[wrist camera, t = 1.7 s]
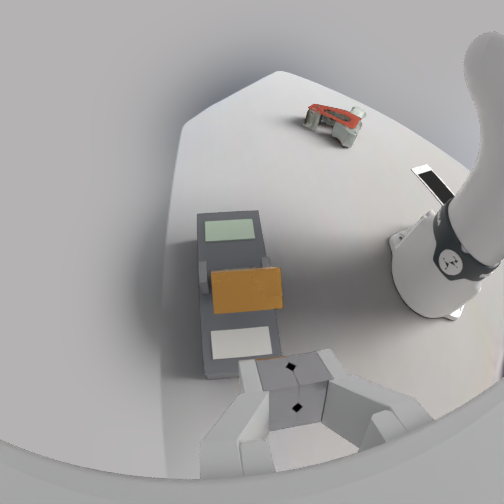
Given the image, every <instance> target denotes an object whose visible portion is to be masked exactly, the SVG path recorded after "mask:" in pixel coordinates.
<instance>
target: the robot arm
mask: <svg viewBox="0 0 504 504" xmlns="http://www.w3.org/2000/svg"><path fill="white" fill-rule="evenodd" d="M464 75H465V81H466V85H467V88H468V91H469V93H470V95H471V97H472V100H473V102H474V105H475V107H476V110H477V114H478V118H479V125H480V148H479V152H478V157H477V160H476V162H475V165H474V167H473V169H472V171H471V172H470V174H469V176H468V178H467V179H466V181H465V182H464V184H463V185H462V187H461V188H460V190H459V191H458V193H457V194H456V195H455V197H454V198H451V199H449V200H448V201H447V202H446V203H445V204H444V205H443V206H442V207H441V208H440V210H439V212H438V213H437V214H436V213H435V212H434V211H433V210H430V211H429V212H428V213H427V214H426V215H424V216H422V217H421V218H420V220H419V221H418V222H417V223H416V225H414V226H412V227H410V228H407V229H405V230H403V231H401V232H398V233H396V234H394V235H393V236H392V237H390V239H389V243H390V247H391V250H392V255H393V257H392V275H393V279H394V282H395V285H396V288H397V290H398V292H399V294H400V295H401V297H402V298H403V300H404V301H405V302H406V303H407V305H408V306H409V307H410V308H411V309H413V310H414V311H415V312H417V313H418V314H420V315H422V316H425V317H428V318H439V317H445V318H448V319H450V320H456V319H458V318H459V317H460V315H461V313H462V310H463V307H464V304H466V303H467V302H468V301H470V300H471V299H472V298H473V297H475V296H476V295H477V294H478V293H479V292H480V291H481V286H482V280H483V279H484V278H485V277H487V276H489V275H490V274H491V273H493V272H494V270H495V269H496V268H497V267H498V266H499V264H500V262H501V260H502V259H503V258H504V35H502V34H499V33H498V32H488V33H484V34H482V35H480V36H478V37H477V38H476V39H475V40H473V42H472V43H471V44H470V46H469V47H468V50H467V52H466V55H465V60H464ZM400 239H401V240H400ZM238 368H239V382H240V394H239V395H238V396H237V397H236V399H235V400H234V401H233V403H232V404H231V405H230V406H229V408H228V409H227V410H226V411H225V413H224V414H223V415H222V417H221V418H220V419H219V420H218V422H217V423H216V424H215V425H214V427H213V428H212V429H211V430H210V431H209V433H208V434H207V435H206V436H205V437H204V439H203V440H202V441H201V442H200V479H168V478H152V477H141V476H132V475H124V474H117V473H111V472H105V471H99V470H94V469H89V468H85V467H80V466H77V465H72V464H69V463H65V462H61V461H58V460H54V459H51V458H48V457H44V456H41V455H38V454H35V453H33V452H30V451H27V450H25V449H22V448H19V447H17V446H14V445H12V444H9V443H7V442H5V441H2V440H0V504H504V377H503V378H502V379H501V380H499V381H498V382H496V383H495V384H494V385H492V386H491V387H489V388H488V389H487V390H485V391H484V392H482V393H481V394H479V395H478V396H476V397H474V398H473V399H471V400H470V401H468V402H467V403H465V404H463V405H462V406H460V407H458V408H457V409H455V410H453V411H451V412H450V413H448V414H446V415H444V416H442V417H440V418H439V419H437V420H434V419H433V418H432V417H431V416H430V415H429V413H428V412H427V411H426V410H425V409H424V408H423V407H422V405H421V404H420V403H419V402H418V401H417V400H416V399H415V398H414V397H411V396H408V395H405V394H402V393H400V392H397V391H394V390H391V389H389V388H386V387H383V386H381V385H378V384H376V383H373V382H370V381H368V380H365V379H363V378H360V377H358V376H355V375H351V376H349V374H348V373H347V371H346V370H345V369H344V367H343V366H342V364H341V363H340V361H339V360H338V359H337V357H336V356H335V355H334V353H333V352H332V350H331V349H329V348H328V349H323V350H318V351H314V352H310V353H304V354H297V355H291V356H281V357H271V358H261V359H255V360H254V359H250V360H239V361H238ZM317 422H321V423H322V424H324V425H325V426H327V427H328V428H330V429H331V430H333V431H334V432H336V433H337V434H339V435H340V436H342V437H343V438H345V439H346V440H348V441H349V442H351V443H352V444H354V445H355V446H357V447H359V451H358V453H355V454H352V455H349V456H346V457H342V458H339V459H335V460H332V461H328V462H324V463H320V464H316V465H312V466H307V467H303V468H298V469H293V470H287V471H282V472H276V471H275V467H274V464H273V460H272V456H271V453H270V449H269V445H268V442H266V441H265V440H266V438H267V435H268V433H269V431H273V430H279V429H284V428H290V427H295V426H301V425H306V424H312V423H317Z"/></svg>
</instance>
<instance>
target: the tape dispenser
mask: <svg viewBox="0 0 504 504" xmlns="http://www.w3.org/2000/svg"><path fill="white" fill-rule="evenodd" d="M308 108H309V110H308V112H307V115H306V119H305V122H304V124H303V126H304V127H306V128H308V129H310V130H312V131H316V130H317V127H318V126H319V124H320V122H321V120H323V121H325V123H326V124H327V125H330V126H334V127H333V130H332V136H333V137H336V138H338V139H339V140H338V141H339V142H340V143H341V144H342V145H343V146H345V147H351V146H352V145H353V143H354V141H355V138H356V136H357V134H358V132H359V130H360V128H361V126H362V122H361V118H364V117H365V116H366V111H365V110H363V109H361V108H358V107H353V108H352V110H351V111H350V112H348V111H346V110H342V109H338V108H333V107H328V106H323V105H319V104H313V105H311V106H309V107H308Z"/></svg>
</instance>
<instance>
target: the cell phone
mask: <svg viewBox="0 0 504 504" xmlns="http://www.w3.org/2000/svg"><path fill="white" fill-rule="evenodd" d="M411 170H412V171H413V172H414V174H415V175H416V176H417V177H418V178H419V179H420V180H421V181H422V182H423V183H424V185H425V186H426V187H427V188H428V189H429V190H430V191H431V193H432V194H433V195H434V196H435V197H436V199H437V200H438V201H439V202H440V203H441V205H442V206H443V205H444V204H445V203H446V202H447V201H448V200H449V199H451V198H454V197H455V195H454V194H453V193H452V191H451V190H450V189H449V188H448V187H447V186H446V184H445V183H444V182H443V181H442V180H441V179H440V178H439V177H438V176H437V174H436V173H435V172H434V171H433V170H432V169H431V168H430V167H429V166H428V165H423V166H419V167H415V168H412V169H411Z"/></svg>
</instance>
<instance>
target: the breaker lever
mask: <svg viewBox="0 0 504 504" xmlns="http://www.w3.org/2000/svg"><path fill="white" fill-rule="evenodd" d="M211 281H212V293H213V305H214V314H223V313H236V312H248V311H259V310H269V309H279V308H283V299H282V282H281V268H278V267H262V268H258V267H257V266H255V267H241V268H227V269H212V270H211Z"/></svg>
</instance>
